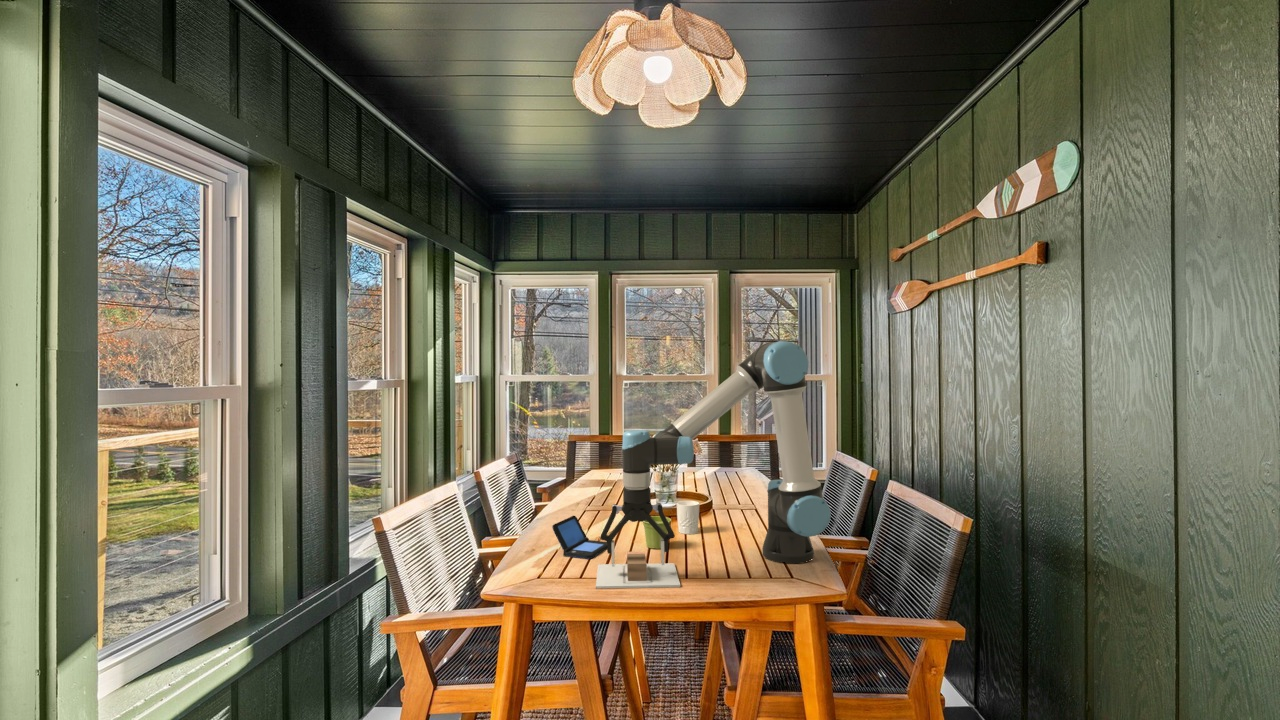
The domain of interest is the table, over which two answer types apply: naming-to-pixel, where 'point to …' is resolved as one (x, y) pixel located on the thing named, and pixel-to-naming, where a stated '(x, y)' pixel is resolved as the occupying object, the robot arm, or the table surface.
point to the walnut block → (636, 566)
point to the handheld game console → (576, 539)
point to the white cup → (688, 517)
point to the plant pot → (654, 532)
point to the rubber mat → (619, 579)
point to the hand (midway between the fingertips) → (638, 564)
